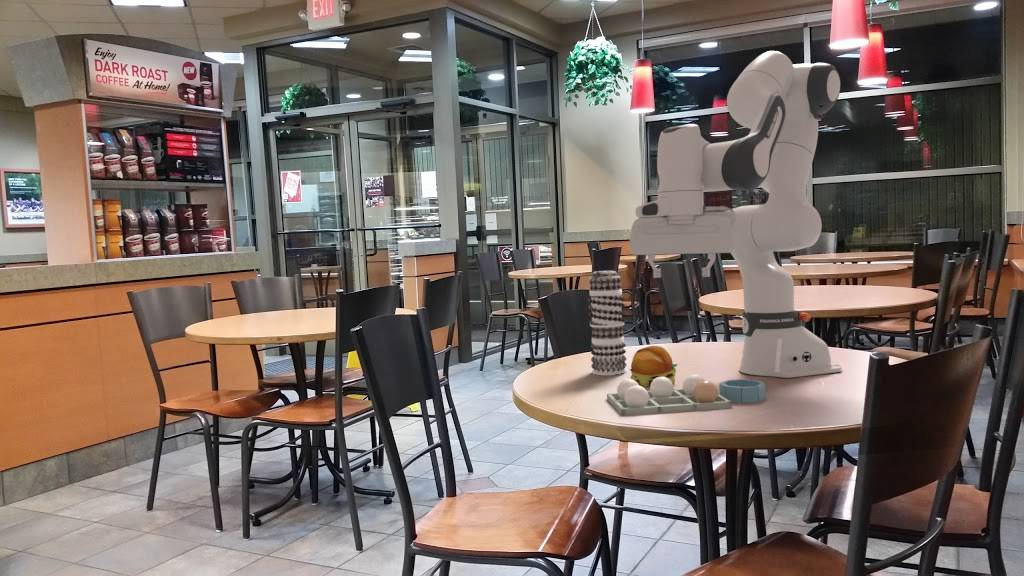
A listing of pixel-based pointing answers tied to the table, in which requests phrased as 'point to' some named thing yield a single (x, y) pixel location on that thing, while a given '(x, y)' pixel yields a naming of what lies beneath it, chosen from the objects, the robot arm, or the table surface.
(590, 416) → the table surface
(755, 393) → the egg cup
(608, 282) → the black white tall cylinder
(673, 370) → the cheeseburger
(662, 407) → the egg carton
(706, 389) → the brown egg
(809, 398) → the table surface
